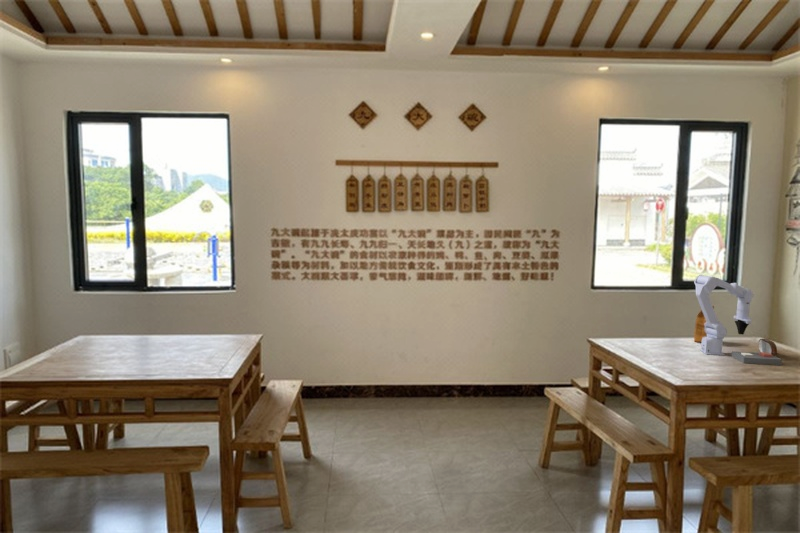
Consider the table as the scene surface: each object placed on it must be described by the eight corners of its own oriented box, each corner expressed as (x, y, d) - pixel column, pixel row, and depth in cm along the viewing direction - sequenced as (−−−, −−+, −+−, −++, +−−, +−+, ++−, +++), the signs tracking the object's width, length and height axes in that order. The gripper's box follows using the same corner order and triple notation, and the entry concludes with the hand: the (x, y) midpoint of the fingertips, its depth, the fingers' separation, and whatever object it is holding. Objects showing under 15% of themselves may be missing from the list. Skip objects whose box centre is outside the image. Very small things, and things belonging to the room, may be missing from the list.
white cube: (744, 361, 265) (745, 354, 264) (740, 359, 269) (741, 352, 268) (752, 361, 264) (753, 355, 264) (748, 359, 268) (749, 352, 268)
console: (743, 363, 261) (744, 357, 261) (731, 356, 273) (731, 351, 273) (781, 365, 259) (782, 359, 259) (767, 358, 271) (768, 353, 270)
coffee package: (719, 342, 304) (722, 306, 302) (708, 345, 298) (711, 308, 296) (702, 339, 313) (705, 304, 311) (691, 341, 307) (694, 305, 304)
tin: (776, 359, 271) (778, 343, 270) (770, 358, 272) (771, 343, 271) (762, 351, 286) (764, 337, 285) (756, 351, 286) (758, 336, 285)
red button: (763, 360, 264) (763, 354, 263) (758, 358, 268) (759, 352, 267) (771, 361, 263) (772, 354, 263) (767, 359, 267) (767, 352, 267)
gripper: (758, 312, 273) (755, 337, 274) (744, 308, 287) (741, 331, 288) (743, 312, 274) (741, 336, 275) (730, 307, 288) (728, 331, 289)
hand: (740, 334), depth 282 cm, fingers closed
